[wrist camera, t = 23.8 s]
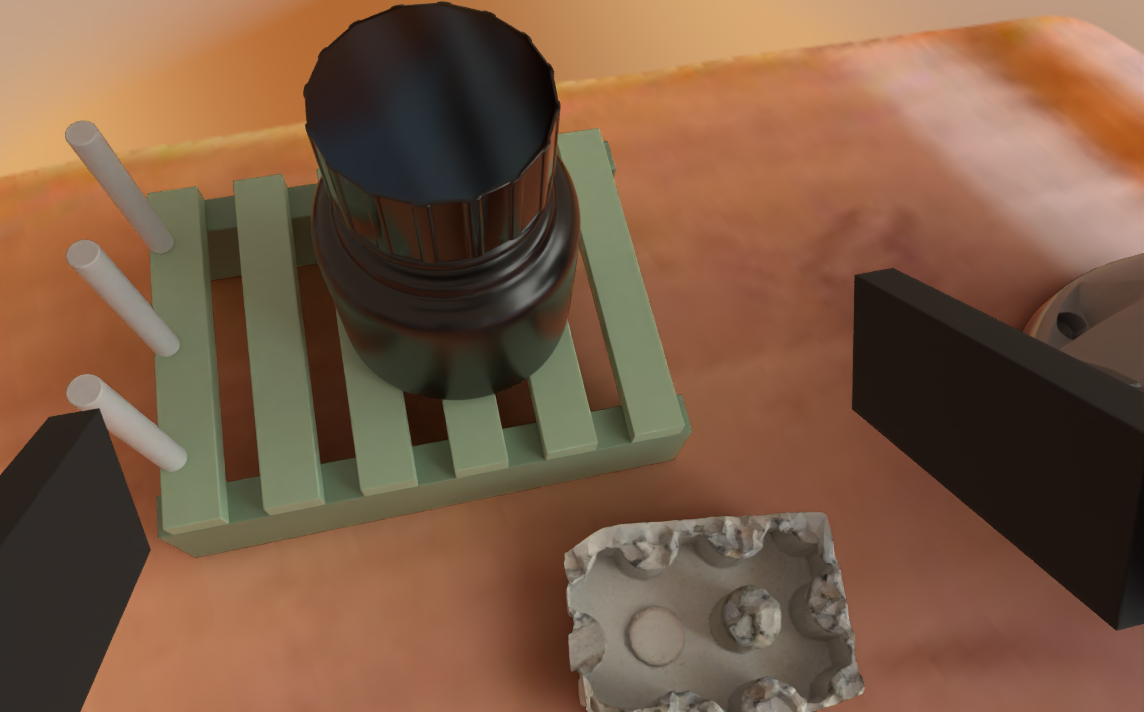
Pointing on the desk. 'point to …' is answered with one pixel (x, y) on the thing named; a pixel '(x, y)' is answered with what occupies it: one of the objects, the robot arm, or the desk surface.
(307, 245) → the drying rack
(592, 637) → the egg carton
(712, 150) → the desk surface
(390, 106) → the ink bottle
